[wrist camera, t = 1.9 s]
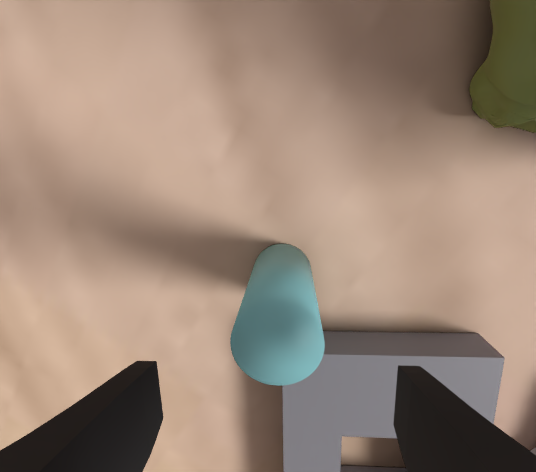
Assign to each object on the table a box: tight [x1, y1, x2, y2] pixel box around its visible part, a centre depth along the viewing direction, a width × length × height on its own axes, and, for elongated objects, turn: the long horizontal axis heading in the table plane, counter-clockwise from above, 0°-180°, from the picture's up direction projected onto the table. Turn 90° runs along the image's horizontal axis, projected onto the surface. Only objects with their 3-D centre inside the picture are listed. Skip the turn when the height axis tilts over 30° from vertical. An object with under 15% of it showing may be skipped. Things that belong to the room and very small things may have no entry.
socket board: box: [282, 331, 504, 472], centre depth 21 cm, size 16×12×2 cm
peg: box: [231, 244, 325, 386], centre depth 16 cm, size 4×4×8 cm
